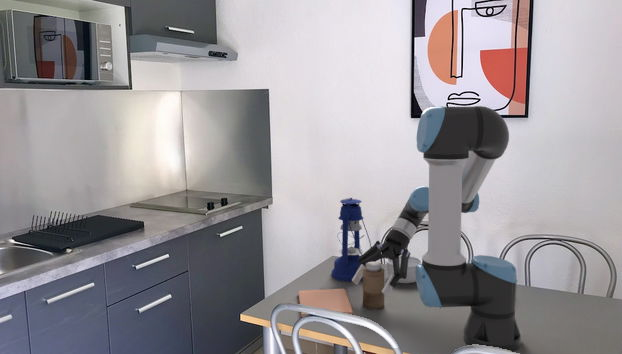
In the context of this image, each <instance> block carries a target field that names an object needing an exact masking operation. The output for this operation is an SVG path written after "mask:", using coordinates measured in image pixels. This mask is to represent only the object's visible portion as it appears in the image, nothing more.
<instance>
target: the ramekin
mask: <svg viewBox="0 0 622 354" xmlns="http://www.w3.org/2000/svg"><path fill="white" fill-rule="evenodd" d="M401 256H402V255H400V256H399V266H400V265H401ZM385 264H386V268H387V275H388V279H389V278H390V276H391V274H392V275H394V274H393V273H394V269H393V262H392V260H390V259H386V261H385ZM418 264H422V259H421V258H419V257H415V256H413V255H410V256H409V259H408V268H407V277H406V279H403V278H401V279H399V280H398V282H397V283H399V284H412V283H417V282H416V275H415V270H416V265H418Z"/></svg>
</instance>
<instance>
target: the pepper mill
mask: <svg viewBox="0 0 622 354" xmlns="http://www.w3.org/2000/svg"><path fill="white" fill-rule="evenodd" d="M384 286H385V269H384V268H383V267H382V263H381V262H378V261H376V262H368V263H366V268H364V269H363V281H362V306H363V308H365V309H367V310H381V309H383V308H385V295H384V294H383V293H382V292H381V291H382V290H383V288H384Z"/></svg>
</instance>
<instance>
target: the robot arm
mask: <svg viewBox="0 0 622 354" xmlns="http://www.w3.org/2000/svg"><path fill="white" fill-rule="evenodd" d="M509 141H510V133H509V127H508V125H507V122H506V121H505V119H504V118H503V117H502V116H501V115H500V113H498V112H497V111H496V110H494V109H492V108H490V107H486V106H481V105H475V106H439V107H437V106H435V107H429V108H426V109H425V110H424V111H423V112H422V113H421V115H420V118H419V121H418V124H417V131H416V149H417V150H418V152H420V153H423V157H422V158H423V160H424V161H425V162H426V163H427V164H428V186H425V185H424V186H418V187H416V188H415V189H414V190H413V191H412V192H411V193H410V196H409V197H408V199H407V202H406V203H405V205H404V207H403V209H402V210H401V212H400V214H399V216H397V219H396V220H395V222H394V224H392V226H391V229H390V230H389V232H388V233H387V235H386V236H385V242H383V243H382V242H380V240H377V241H376V242H375V243H374V244H373V246H372V245H371V247H370V248H369V249H367V250H366V251H365V252H363V253H362V256H360V255H359V256H360V257H359V258H358V259H357V261H358V262H359V263H360V265H359V267H358V268H357V270H356V274H355V275H354V277H353V279H352V281H353V282H352V283H353V284H354V285H357V286H358V285H359V283H360V282H361V281H360V280H361V278H362V276H363V269H364V268H366V263H368V262H378V261H379V260H382V259H386V260H387V259H390V260H392V262H393V269H394V273H393V274H394V275H392V274H391V276H390V278H389V277H388V279H387V281H386V283H385V284H384V288H383V290H382V291H381V292H382V293H383V294H384V297H388V296H389V295H390V293H391V291H392V289H393V288H395V287H396V285H397V283H398V280H399V279H401V278H403V279H406V277H407V268H408V259H409V256H411V252H410V251H409V250H408V246H409V244H410V243H411V240H412V239H413V237H414V235H415V233H416V232H417V230H418V228H419V226H421V223H422V221H423V220H424V219H425V216H426V215H427V214H428V216H427V217H428V220H427V223H428V229H427V231H428V232H427V233H428V234H427V236H428V237H427V252H426V253H424V254H423V255H422V259H421V260H422V264H418V265H416V270H415V275H416V282H415V283H416V286H417V287H416V288H417V291H418V294H419V299H420V300H421V302H422V304H423V305H424V306H426V307H428V308H439V309H442V308H460V307H462V308H463V307H466V308H467V307H470V312H469V314H468V317H467V319H466V323H464V324H465V325H464V326H463V332H462V333H463V335H462V336H463V337H462V338H463V339H464V341H465V342H466V344H468V345H469V346H471V345H472V344H479V345H486V346H493V347H499V348H502V349H507V350H512V351H511V352H514V351H516V350H518V349H519V348H520V347H521V344H522V343H521V342H522V336H521V332H520V329H519V324H518V322H517V319H516V301H517V300H516V298H517V284H518V280H517V279H518V278H517V268H516V266H515V265H514V264H513V263H511V262H510V261H508V260H506V259H503V258H500V257H497V256H496V257H495V256H490V255H483V254H480V255H474V256H473V257H472V259H471V260H470V261H471V262H467V258H466V257H465V256H464V254H462V253H461V250H462V249H461V247H462V245H461V244H462V243H461V242H462V241H461V240H462V214H469V213H475V212H476V211H478V210H479V207H480V206H479V205H480V195H479V191H480V189H481V187H482V186H483V184H484V181H485V180H486V178H487V176H488V175H489V173H490V171H491V169H492V167H493V165H494V163H495V161H496V160H497V159H500V158H501V157H502V156H503V155H504V153H505V152H506V150H507V148H508V145H509V143H510V142H509ZM401 255H402V256H401ZM399 256H401V265H400V266H399Z"/></svg>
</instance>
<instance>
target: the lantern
mask: <svg viewBox="0 0 622 354" xmlns="http://www.w3.org/2000/svg"><path fill="white" fill-rule="evenodd" d="M339 202H340V203H341V205H342V206H341V207H340V212H339V217H338V220H339V221H340V220H341V221H342V224H341V225H340V227H339V229H340V230H341V232H338V233H337V235H339V234H340V233H341V234H342V239H341V240H340V238H339V237H337V238H338V241H339V242H340V244H341V246H342V247H341V249H340V250H338V252H339V254H341V256H339V257H337V258H336V259H334V262H333V265H334V266H333V269H332V270H331V277H332V278H333V279H334V280H337V281H340V282H346V283H354V282H353V281H352V279H353V277H354V275H355V274H356V270H357V268H358V267H359V265H360V263H359V262H358V261H357V259H358V258H359V257H360V256H362V255H363V254H364V250H363V249H361V248H362V246H361V243H360V242H361V241H360V239H362V238H364V237H365V236H366V235H367V238H368V241H369V247H370V248H371V247H372V243H371V239H370V237H369V234H368V230H367V228H366V225H365V222H364V216H363V213H362V212H363V211H362V207H361V205H360V204H361V203H362V200H360V199H356V198H353V197H348V198H342V199H341V200H340V201H339ZM360 221H362V224H363V227H364V230H365V232H366V235H365V234H364V235H361V236H360V231H361V230H363V227H362V225H361V224H360ZM349 232H351V234H352V235H350V234H349ZM349 236H350V237H352V238H353V239H354V241H353V242H351V243H348V242H349ZM341 241H342V242H341ZM349 245H351V246H349ZM353 245H354V246H353ZM359 282H363V276H362V278H361V280H360V281H359Z"/></svg>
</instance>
